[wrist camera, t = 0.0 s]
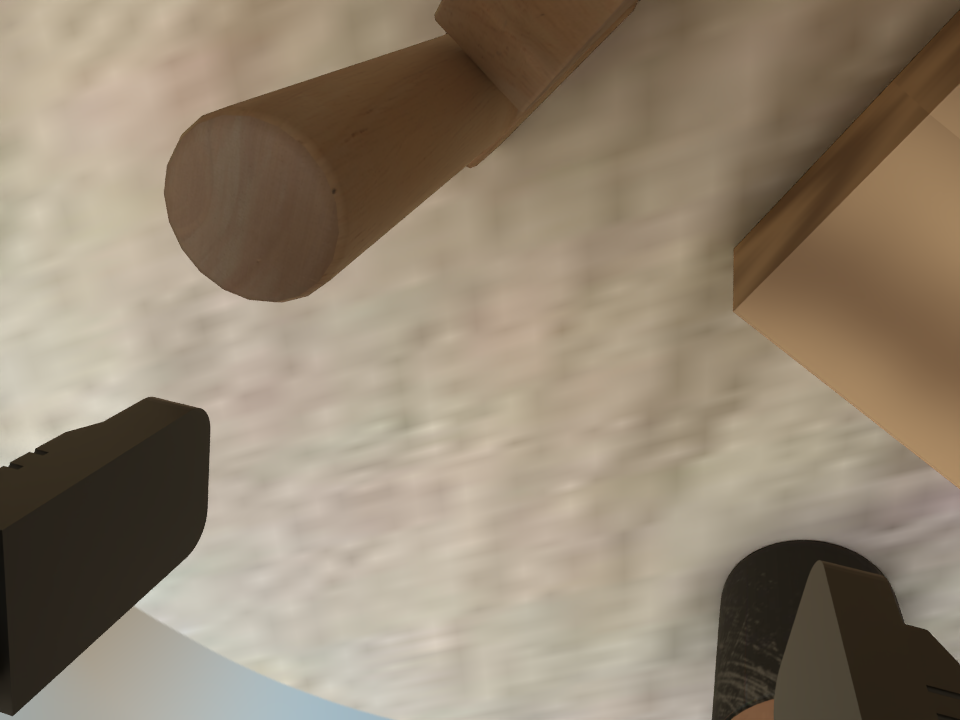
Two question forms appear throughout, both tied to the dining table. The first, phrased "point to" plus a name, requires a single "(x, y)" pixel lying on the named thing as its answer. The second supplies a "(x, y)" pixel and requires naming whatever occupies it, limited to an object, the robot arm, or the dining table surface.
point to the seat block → (875, 261)
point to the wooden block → (366, 142)
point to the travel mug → (765, 622)
